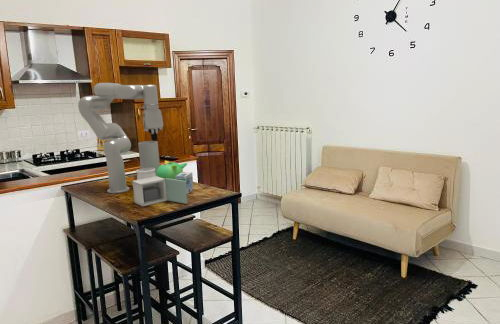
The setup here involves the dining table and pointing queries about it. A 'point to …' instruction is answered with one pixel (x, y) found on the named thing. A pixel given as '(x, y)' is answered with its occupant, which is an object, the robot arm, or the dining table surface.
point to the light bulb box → (188, 178)
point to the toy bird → (169, 170)
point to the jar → (145, 173)
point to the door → (176, 190)
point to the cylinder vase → (149, 155)
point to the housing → (149, 190)
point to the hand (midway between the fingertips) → (154, 140)
